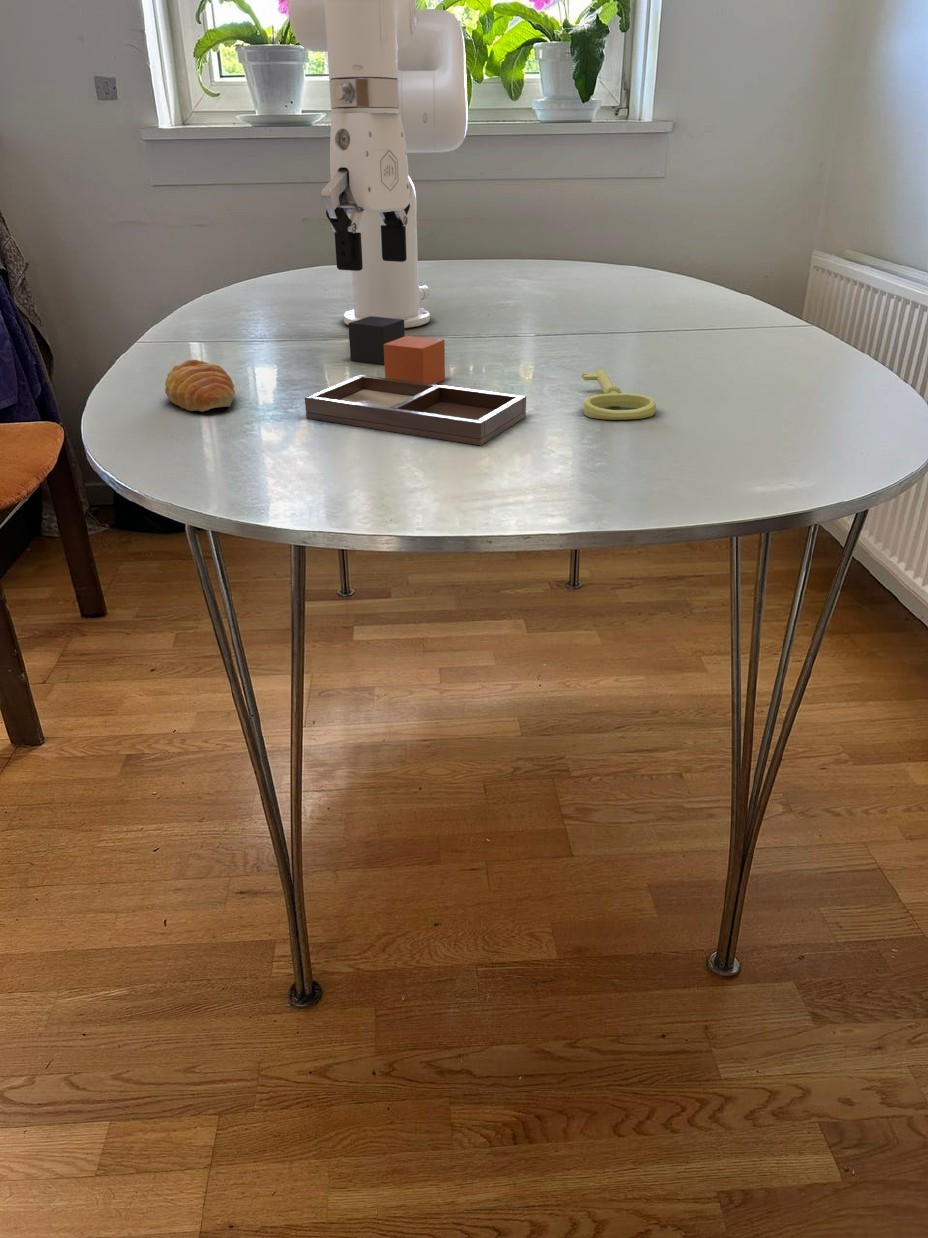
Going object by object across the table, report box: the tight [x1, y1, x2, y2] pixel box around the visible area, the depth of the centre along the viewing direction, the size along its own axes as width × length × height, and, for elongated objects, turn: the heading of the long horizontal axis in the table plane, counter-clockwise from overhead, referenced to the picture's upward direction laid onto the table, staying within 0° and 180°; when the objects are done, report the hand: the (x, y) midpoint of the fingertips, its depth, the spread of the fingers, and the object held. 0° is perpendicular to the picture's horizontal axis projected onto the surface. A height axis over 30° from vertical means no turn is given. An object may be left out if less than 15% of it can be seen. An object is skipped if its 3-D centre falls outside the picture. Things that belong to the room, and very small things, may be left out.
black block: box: [347, 316, 406, 366], centre depth 113 cm, size 5×5×4 cm
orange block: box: [384, 335, 446, 385], centre depth 103 cm, size 5×5×4 cm
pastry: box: [164, 359, 236, 413], centre depth 96 cm, size 9×7×4 cm
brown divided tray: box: [304, 374, 527, 446], centre depth 91 cm, size 10×20×2 cm, turn 63°
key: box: [581, 368, 657, 421], centre depth 95 cm, size 7×12×2 cm, turn 23°
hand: (372, 265), depth 108 cm, fingers open, 9 cm apart
